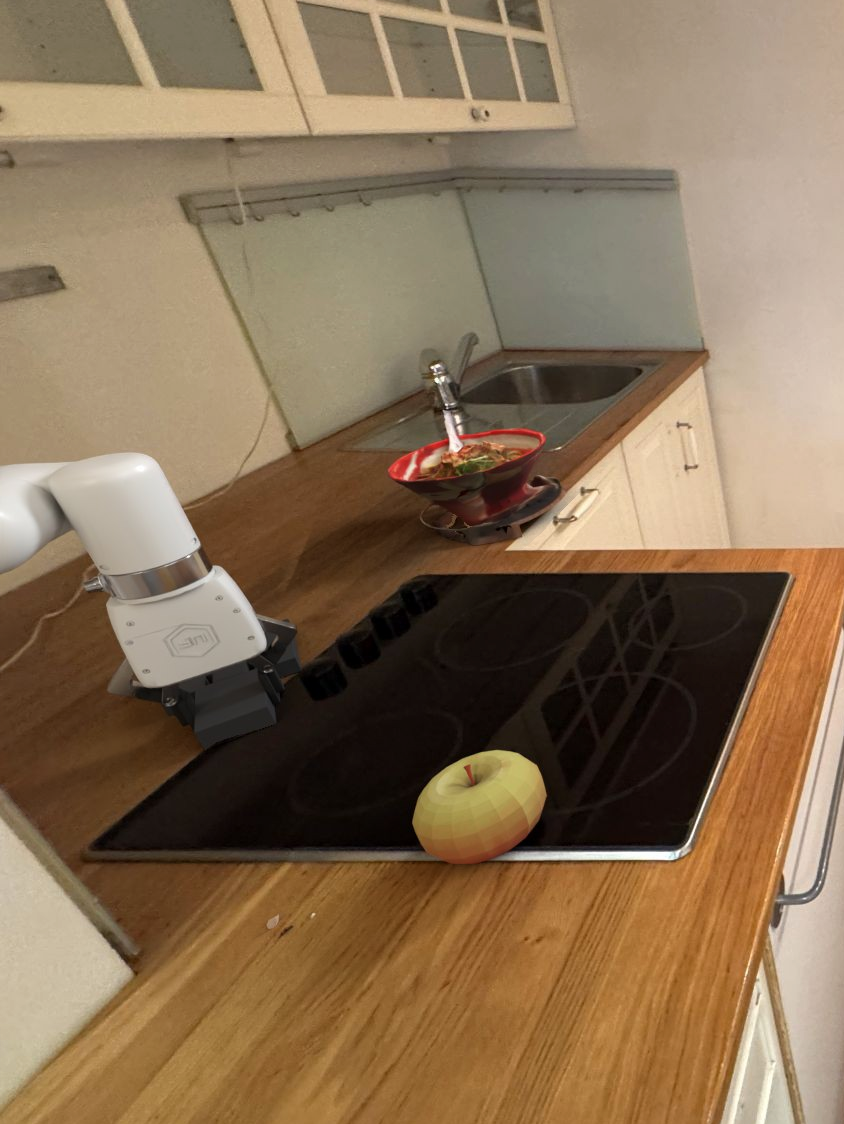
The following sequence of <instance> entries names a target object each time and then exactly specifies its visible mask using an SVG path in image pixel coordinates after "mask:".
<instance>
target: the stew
mask: <svg viewBox="0 0 844 1124" xmlns="http://www.w3.org/2000/svg"><path fill="white" fill-rule="evenodd" d="M442 412H443V418H444V421H443V424H444V428H445V429H446V434H447V436H446V437H445V438H443V439H442V440H438V441H436V442H433V443H430V444H426V445H424V446H423V447H420V448H418V449H416V450H414V451H411V452H409V453H406V454H404V455H403V456H401V457H399V458H397V460H395V461H394V462H393V463H391V465H390V466H389V467H388V469H387V476H388V477H389V478H390V479H391V480H392V481H394V482H395V483H397V484H399V485H401V486H403V487H405V488H406V489H408V490H410V491H411V492H413V493H414V494H416V495H418V496H420V497H422V498H424V499H426V500H428V502H429V504H428V505H427V506H426V507H425V508H424V509H423V510H422V511H421V513H420V515H419V521H420V523H421V524H422V525H423V526H424V527H426V528H429V529H431V530H434V531H437V532H438V533H437V534H439V533H440V534H439V535H441V534H442V535H441V536H442V537H443V536H444V537H443V538H446V539H450V538H452V539H454V540H453V541H456V540H459V541H460V542H459V541H458V542H459V543H469V545H470V546H481V545H486V544H492V543H496V542H501V541H506V540H509V539H510V540H511V539H519V538H523V533H522V530H521V527H520V525H522V524H524V523H526V522H530V521H531V520H533V519H535V518H537V517H539V516H542V515H543V514H544V513H546V512H548V511H550V510H551V509H553V508H554V507H555V506H557V505H558V504H559V503H560V502H561V501H562V500H563V499H564V498H565V496H566V494H567V493H568V492H567V490H566V489H564V488H563V487H562V485H561V483H560V481H559V480H558V479H557V478H556V476H544V475H539V474H537V475H535V476H534V477H533V478H532V479H529V478H530V475H531V472H532V470H533V468H534V467H535V465H536V463H537V462H538V459H539V458H540V457H541V455H542V451H543V449H544V446H545V444H546V442H547V437H546V435H545V434H544V432H543V433H542V432H541V431H537V430H535V429H530V428H527V427H526V428H522V427H521V428H520V427H513V428H512V427H511V428H501V429H500V428H499V429H498V428H495V429H490V430H485V431H482V432H481V431H480V432H476V433H470V434H462V435H459V434H458V431H457V430H456V428H455V427H456V426H455V422H454V419H453V415H452V410H445V409H442ZM432 506H436V507H437V506H439V507H440V508H442V509H444V510H446V511H445V512H444V514H442V515H441V516H440V517H439V518H438V520H433V521H432V523H433V526H432V525H431V524H429V523H427V522H426V521H425V519H424V517H423V514H424V512H426V511H427V510H428V509H430V507H432ZM453 514H455V515H456V516H458V518H460V519H461V520H462V522H463V521H464V522H465V523H466V524H467V525H469V526H472V527H470V528H465V527H464V528H463V527H462V528H458V529H455V528H453V529H449V528H447V526H446V525H449V524H450V523H451V522H452V518H453V517H452V516H454V515H453ZM464 522H463V523H464ZM452 523H453V522H452ZM503 527H507V529H506V530H505V529H504V528H503ZM498 529H499V530H498ZM455 531H456V532H455ZM447 537H448V538H447ZM449 537H450V538H449ZM452 539H451V540H452Z"/></svg>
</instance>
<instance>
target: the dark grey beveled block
mask: <svg viewBox="0 0 844 1124" xmlns="http://www.w3.org/2000/svg"><path fill="white" fill-rule="evenodd" d="M275 708H276V707H275V704H272V702H271V700H270V699H269V697H268V695H267V693H266V692H265V690H264V689H263V687H262V685H261V683H260V681H259V679H258V673H257V669H254V670H251V671H250V670H249V668H248V666H247V664H246V663H242V664H239V665H236V666H233V667H230V668H227V669H224V670H221V671H218V672H215V673H213V683H212V684H209V685H206V686H203V687H200V688H197V689H195V719H194V732H193V733H194V735H195V737H196V738H197V740H198V742H199V743H200V745H201V747H202V748H203V750H204V749H206V748H208V747H209V746H211V745H213V744H215V743H216V742H219V741H222V740H224V739H227V738H231V737H234V736H236V735H240V734H245V733H247V732H251V731H253V730H258V731H260V730H259V729H261V730H263V729H262V728H264V729H266V728H269V727H271V725H272V726H274V725H277V716H276V715H277V714H276V709H275ZM268 726H269V727H268ZM265 727H266V728H265Z"/></svg>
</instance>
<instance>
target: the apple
mask: <svg viewBox="0 0 844 1124" xmlns="http://www.w3.org/2000/svg"><path fill="white" fill-rule="evenodd" d="M547 797H548V795H547V791H546V787H545V783H544V779H543V776H542V773H541V771H540V769H539V767H538V764H535V763H534V762H533V761H531V760H529V759H528V758H526V757H524V756H523V755H521V754H520V753H518V752H514V751H510V750H509V751H508V750H500V749H495V750H488V751H487V750H486V751H481V752H478V753H475V754H472V755H469V756H466V757H463V758H461V759H459V760H458V761H455V762H453V763H452V764H450V765H448V766H445V768H444V769H442V770H441V771H440V772H438V773H437V774H436V775H434V776H433V777H432V778H431V780H430V781H429V782H428V783H427V784H426V786H425V787H424V788H423V790H422V791H421V792H420V794H419V796H418V798H417V801H416V805H415V809H414V813H413V817H412V823H411V824H412V826H413V829H414V832H415V834H416V836H417V838H418V841H419V843H420V845H421V846H422V848H423V849H424V851H425V853H426V854H427V855H429V856H432V857H435V858H436V859H439V860H442V861H444V862H446V863H449V864H451V865H475V864H476V865H477V864H479V863H482V862H486V861H490V860H494V859H495V858H497V857H499V856H501V855H503V854H505V853H507V852H509V851H511V850H512V849H514V847H516V846H518V845H519V844H520V843H521V842H522V841H523V840H525V839H526V838H527V837H528V835H530V833H531V832H532V831H533V829H534V828H535V827H536V825H537V824H538V822H540V819H541V816H542V812H543V810H544V806H545V802H546V800H547Z"/></svg>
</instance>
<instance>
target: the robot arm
mask: <svg viewBox="0 0 844 1124" xmlns="http://www.w3.org/2000/svg"><path fill="white" fill-rule="evenodd" d="M168 480H169V479H168V478H167V476H166V474H165V472H164V471H163V469H162V468H161V466H160V463H158V461H156V459H154V458H153V457H151V456H150V455H148V454H146V453H141V452H135V451H134V452H133V451H129V452H128V451H127V452H126V451H125V452H114V453H107V454H102V455H97V456H96V455H95V456H92V457H88V458H84V459H81V460H77V461H61V462H31V463H30V462H29V463H13V464H6V465H5V464H4V465H0V576H1V575H3V574H6V573H8V572H11V571H13V570H15V569H17V568H19V567H21V566H22V565H23V564H25V563H26V562H28V561H29V560H30V559H32V558H33V557H34V556H35V555H36V554H38V552H40V551H41V550H43V548H45V547H46V546H47V545H48V544H49V543H51V542H53V541H54V540H57V539H58V538H61V537H62V536H64V535H66V534H68V533H70V532H71V531H74V532H75V534H76V535H77V537H78V539H79V541H80V542H81V544H82V545H83V547H84V549H85V550H86V552H87V553H88V555H89V557H90V558H91V560H92V562H93V563H94V565H95V566H96V567H95V568H97V570H98V573H97V576H94V577H92V579H88V580H84V581H82V585H83V588H84V590H85V591H86V592H87V593H88V594H89V595H90V594H94V593H98V592H99V593H103V592H105V593H106V594H108V595H109V594H110V597H109V598H108V599H107V601H106V604H105V606H106V611H107V615H108V618H109V621H110V624H111V627H112V629H113V632H114V634H115V636H116V639H117V641H118V643H119V645H120V647H121V650H122V651H123V653H124V655H125V659H124V660H123V661H122V663H121V665H119V667H118V669H117V670H116V672H115V673H114V674H113V676H112V677H111V679H110V680H109V682H108V684H107V689H106V691H107V692H108V694H110V695H111V694H112V695H117V696H124V697H130V698H131V697H134V698H136V699H138V700H142V701H146V702H151V703H152V702H153V703H159V704H161V703H162V704H163V705H164V706H166V707H170V708H171V709H172V711H173V712H174V714H175V715H174V716H175V717H176V719H177V721H178V722H179V724H180V726H181V727H185V726H188V725H189V727H190V729H191V731H192V732H193V733H194V719H195V702H194V700H193V699H192V697H191V695H190V693H189V692H188V691H187V692H186V691H185V690H182V689H180V688H179V683H180V682H183V681H186V680H189V679H192V678H195V677H198V676H202V675H205V674H208V673H211V672H214V671H217V670H220V669H223V668H226V667H229V666H232V665H235V664H238V663H240V662H243V661H247V662H248V663H250V664H251V665H252V666H254V667H255V668H257V673H258V679H259V681H260V683H261V685H262V687H263V689H264V690H265V692H266V693H267V695H268V697H269V699H270V700H271V702H272V704H274V705H278V704H280V703H281V695H280V693H281V692H283V691H285V689H286V688H285V685H284V683H283V680H282V678H280V677H279V675H278V673H277V671H276V669H275V665H276V664H277V662H278V661H279V660H280V658H281V657H282V655H283V654H284V652H285V651H286V648H287V646H288V645H289V644H290V643H291V641H292V640H293V638H294V637H296V636H297V635H298V627H297V624H295V623H291V622H290V623H288V622H284V621H282V620H280V619H276V618H273V617H270V616H266V615H262V614H258V613H257V612H256V611H255V610H254V607H253V606H252V604H251V603H250V601H249V600H248V598H247V597H246V595H245V594H244V593H243V591H242V590H241V588H240V586H239V585H238V584H237V583H236V582H235V580H234V578H232V577H231V575H230V574H229V573H228V572H227V571H226V570H225V569H224V568H223V567H222V566H220V565H213V564H212V562H211V560H210V558H209V556H208V554H207V552H206V551H205V549H204V547H203V545H202V542H201V541H200V539H199V537H198V536H197V535H198V534H197V533H196V532H195V530H194V527H193V525H192V523H191V522H190V520H189V519H188V516H187V514H186V512H185V511H184V509H183V507H182V505H181V503H180V502H179V499H178V497H177V496H176V494H175V492H174V489H173V488H172V485H171V484H170V482H169V481H168ZM264 631H265V632H269V633H273V634H276V635H277V636H276V638H275V640H273V641H272V642H271V644H270V645H269V647H268V648H267V650H265V649H266V645H267V641H266V637H265V634H264ZM135 676H136V678H137V680H134V679H133V678H134V677H135Z"/></svg>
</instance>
